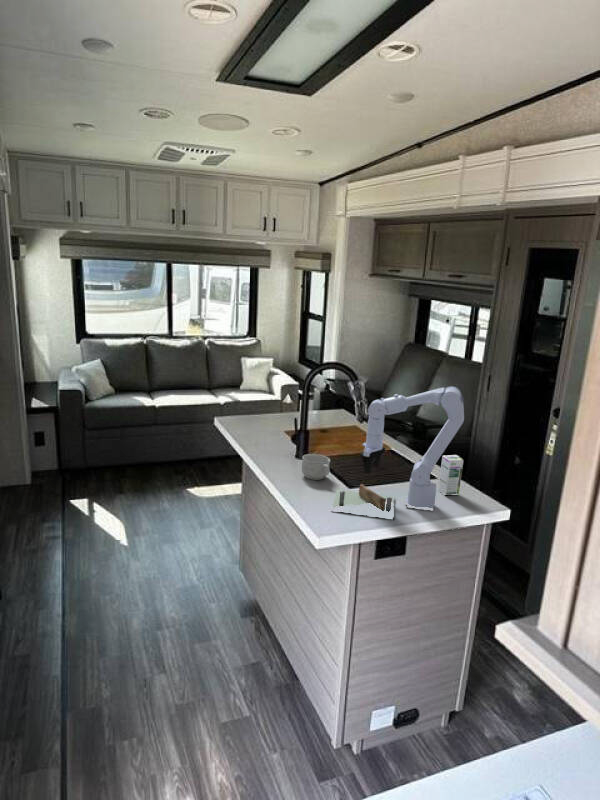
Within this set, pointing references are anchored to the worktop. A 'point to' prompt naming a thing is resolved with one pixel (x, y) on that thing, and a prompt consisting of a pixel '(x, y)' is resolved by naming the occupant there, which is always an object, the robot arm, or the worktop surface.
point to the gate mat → (352, 498)
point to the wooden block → (372, 497)
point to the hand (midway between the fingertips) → (371, 469)
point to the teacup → (315, 466)
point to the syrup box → (450, 474)
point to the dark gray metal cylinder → (342, 494)
